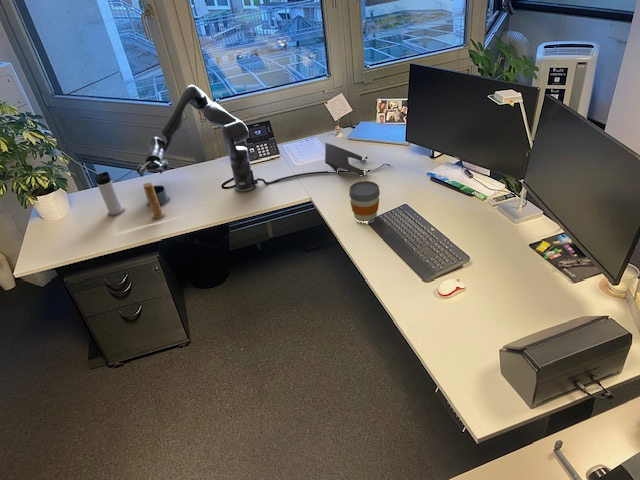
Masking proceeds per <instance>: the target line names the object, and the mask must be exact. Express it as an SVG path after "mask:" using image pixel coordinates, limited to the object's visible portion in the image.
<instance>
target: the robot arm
mask: <svg viewBox="0 0 640 480" xmlns="http://www.w3.org/2000/svg"><path fill="white" fill-rule="evenodd" d="M187 105H190V106H191V107H193V108H194V109H195V110H197V111H199V112H201V113H202V114H203V117H204V118H205V119H206V120H207V122H209V123H210V124H211V125H213V126H215V127H219V128H221V132H222V137H223V141H224V145H225V149H226V152H227V155H228V158H229V163H230V167H231V172H232V177H233V181H234V184H235V190H236V191H237V192H243V193H244V192H249V191H252V190H253V189H256V185H258V184H259V181H261V182H263V184H265V185H271V184H275V183H277V182H280V181H283V180H287V179H293V178H296V177H301V176H302V177H303V176H309V175H319V174H337V173H336V172H328V171H329V170H323V171H311V172H304V173H297V174H292V175H288V176H284V177H280V178H277V179H275V180H272V181H269V182H268V181H266V180H265V179H264V178H260V177H258V174H254V172H253V171H254V170H253V169H252V166H251V160H250V155H249V150H248V148H247V147H245V146H243V145H242V146H240V145H236V144H237V143H241V142H244V141H245V140H247V139H248V138H249V136H250V135H249V133H250V132H249V129H248V127H247V126H246V124H245V123H244V122H243V121H242V120H240V119H239V118H237V117H235V116H233V115H232V114H230V113H229V112H228V111H226V109H224V108H223V107H222V106H221V105H220V104H218V103H217V102H214V101H212V100H211V99H210V98H209V97H208V96H207V94H206V93H205V92H204V91H202V90H201V89H200V88H199V87H197V86H196V85H194V84H190V85H188V86H186V88H185V89H184V90H183V92H182V94H181V95H180V98H179V100H178V102H177V103H176V105H175V108H174V110H173V112H172V114H171V115H170V117H169V119H168V120H167V121H166V123H165V124H164V125H163V127H162V128H161V130H160V134H161V135H162V136H163V137H164V138H165V139H166V141H165V140H163V139H162V138H160V137H159V136H155V135H154V136H151V137H150V138H149V140H148V142H147V148H148V153H147V155H146V159H145V162H144V164H141V163H138V164H137V166H136V167H135V170H136V173H137V175H139V176H140V177H141V178H142V177H144V175H145V174H146V173H149V172H150V171H152V170H158V171H159V175H160V174H163V173H164V171H165V170H169V162H168V159H167V158H166V159H164V156H166V155H167V154H168V153H169V151H170V148H171V145H172V142H173V140H174V138H175V137H176V135H177V134H178V133H179V131H180V129H181V128H182V125H183V119H184V113H185V109H186V107H187ZM363 171H364V170H363ZM338 173H339V174H341V173H352V172H351V171H343V170H338Z"/></svg>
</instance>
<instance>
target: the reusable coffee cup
mask: <svg viewBox="0 0 640 480" xmlns="http://www.w3.org/2000/svg"><path fill="white" fill-rule="evenodd" d="M348 195H349V198H350V201H349V203H350V206H351V207H350V208H351V211H352V212H353V215H354V216H353V217H354V219H355V218H356V219H357V220H359V221H363V222H364V221H369V220H371V219H373V218H374V217H376V218H377V214H378V213H377V212H378V211H379V205H380V198H379V197H380V195H381V193H380V185H379V184H378V183H376V182H374V181H371V180H361V181H357V182H354V183H351V185H350V187H349V193H348ZM364 224H365V225H364ZM359 225H362V226H363V225H364V226H367V225H366V223H362V222H360V224H359Z"/></svg>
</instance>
